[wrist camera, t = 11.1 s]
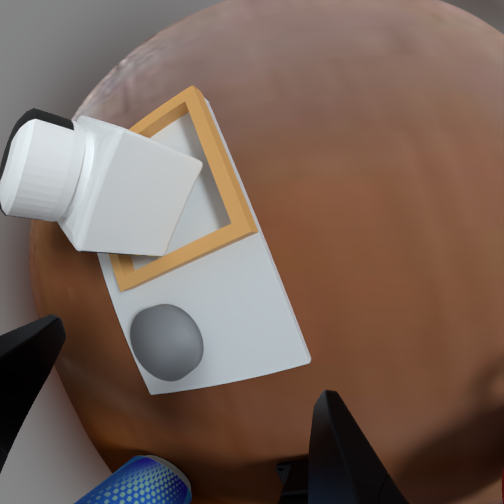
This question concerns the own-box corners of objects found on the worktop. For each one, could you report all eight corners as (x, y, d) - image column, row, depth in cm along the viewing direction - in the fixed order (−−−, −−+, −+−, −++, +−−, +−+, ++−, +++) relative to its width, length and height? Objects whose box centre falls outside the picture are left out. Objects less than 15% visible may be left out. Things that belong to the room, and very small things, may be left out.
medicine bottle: (119, 219, 23) (-12, 199, 13) (150, 141, 22) (21, 94, 12) (165, 259, 20) (-5, 247, 10) (207, 163, 19) (37, 96, 8)
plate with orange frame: (311, 358, 19) (305, 373, 17) (155, 391, 24) (140, 402, 22) (206, 96, 21) (192, 84, 19) (86, 183, 26) (69, 180, 24)
